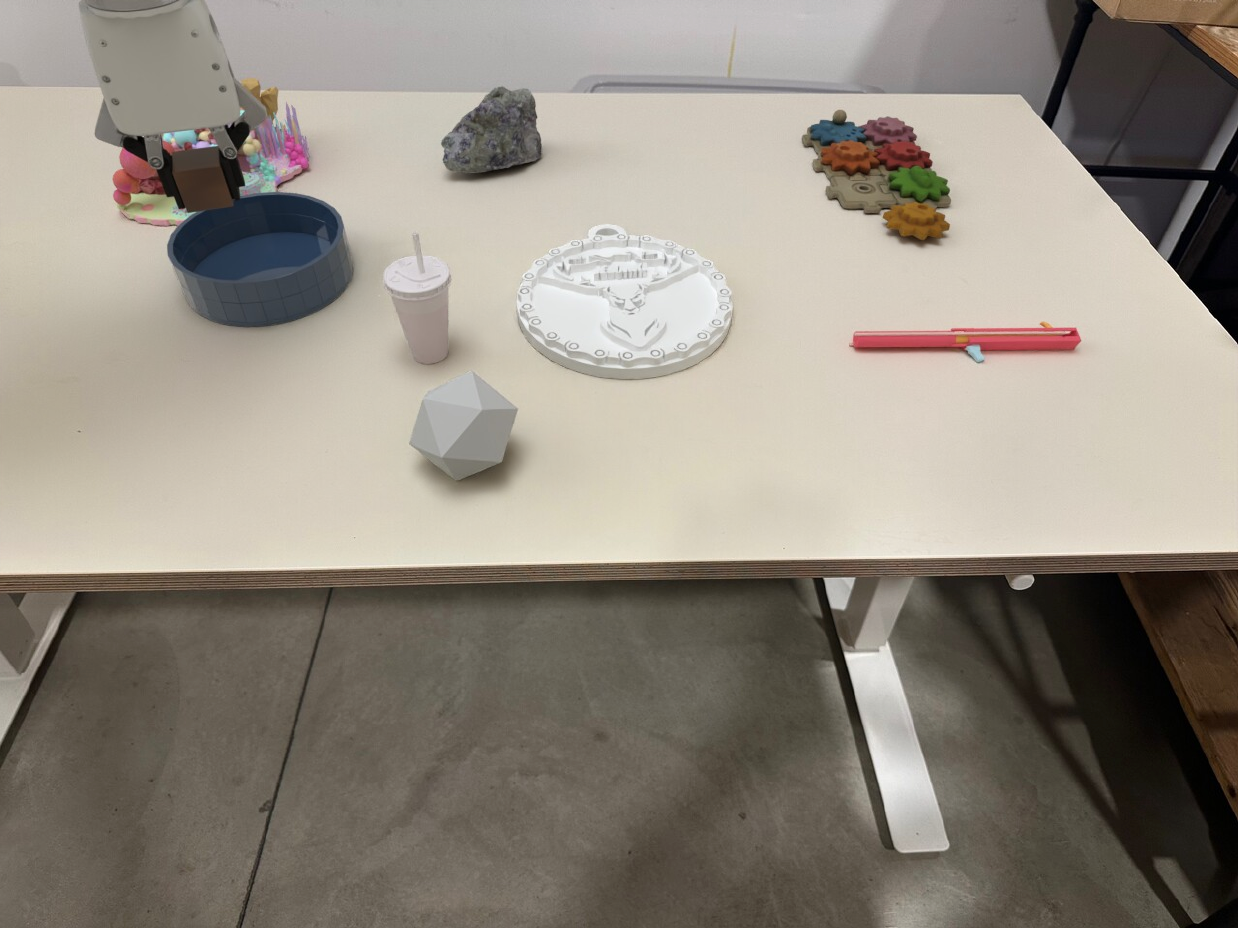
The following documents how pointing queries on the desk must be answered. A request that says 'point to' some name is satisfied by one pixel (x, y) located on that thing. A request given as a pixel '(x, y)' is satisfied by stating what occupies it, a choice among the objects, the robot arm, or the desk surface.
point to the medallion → (624, 305)
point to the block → (201, 179)
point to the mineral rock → (495, 134)
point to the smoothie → (421, 302)
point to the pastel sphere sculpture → (260, 156)
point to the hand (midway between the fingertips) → (209, 196)
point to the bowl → (262, 259)
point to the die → (463, 426)
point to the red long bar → (974, 339)
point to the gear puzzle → (881, 172)
